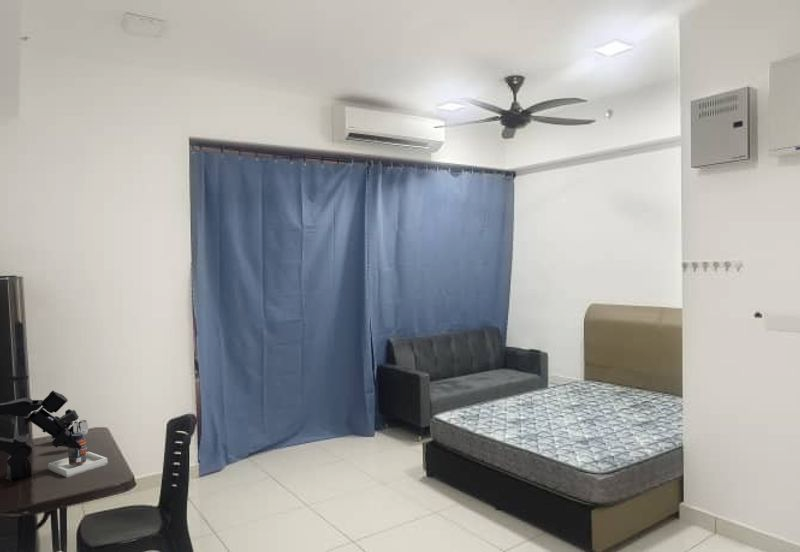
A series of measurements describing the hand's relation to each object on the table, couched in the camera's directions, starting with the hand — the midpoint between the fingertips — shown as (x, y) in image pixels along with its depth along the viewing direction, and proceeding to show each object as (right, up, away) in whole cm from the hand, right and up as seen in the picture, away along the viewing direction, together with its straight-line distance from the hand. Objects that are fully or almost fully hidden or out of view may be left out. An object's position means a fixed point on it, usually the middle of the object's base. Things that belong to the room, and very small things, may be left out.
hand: (81, 445), depth 212 cm
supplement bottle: (-1, -7, 0) cm, 7 cm away
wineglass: (-12, -8, +21) cm, 25 cm away
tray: (-1, -8, 0) cm, 8 cm away
